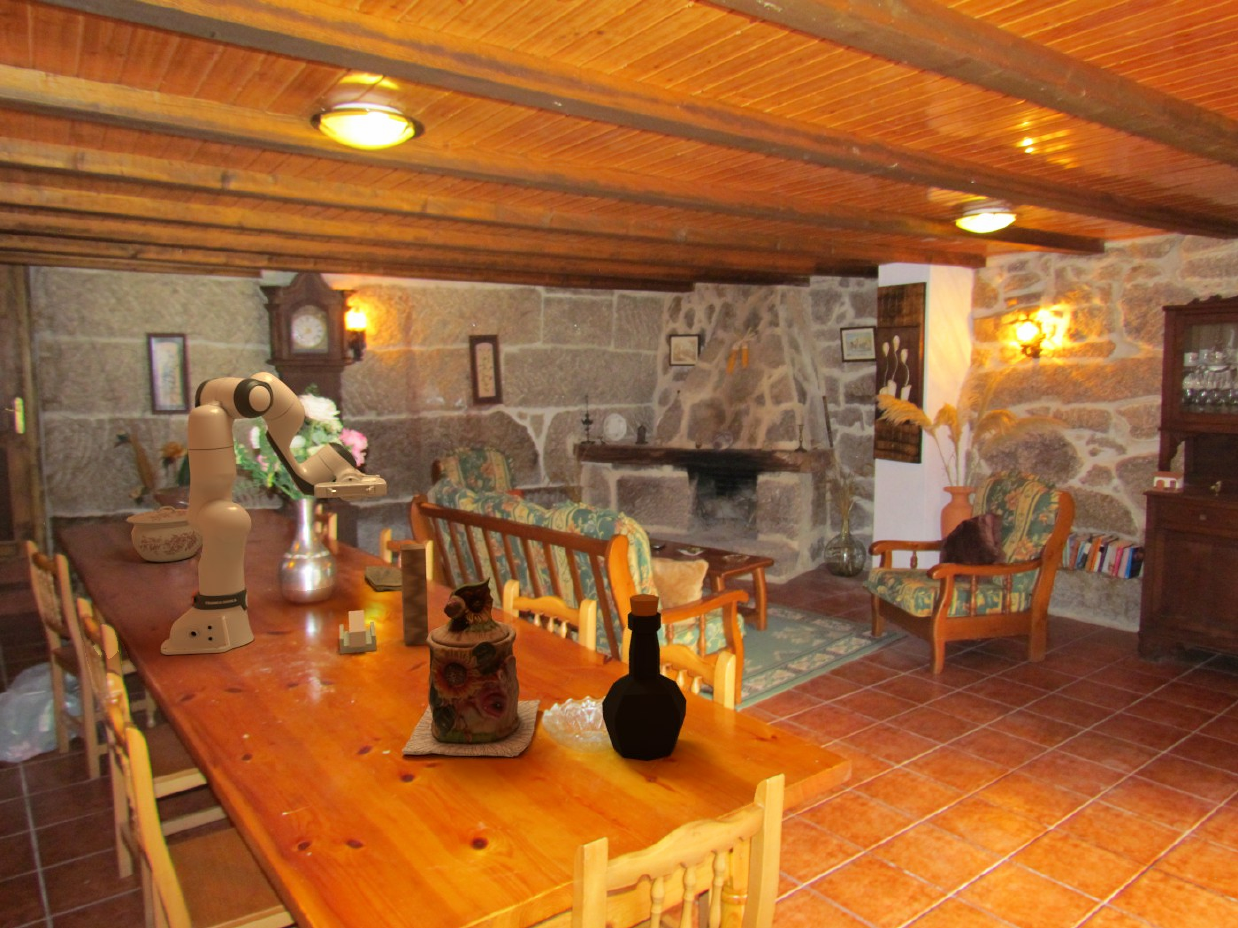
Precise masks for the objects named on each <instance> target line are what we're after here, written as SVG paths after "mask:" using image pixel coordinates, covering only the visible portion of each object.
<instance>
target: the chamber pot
mask: <svg viewBox="0 0 1238 928" xmlns="http://www.w3.org/2000/svg"><path fill="white" fill-rule="evenodd" d="M187 509H188V508H187ZM187 509H186V508H185V509H184V508H175V507H174V506H172V505H163V506H160V507H159V508H158V510H151V511H146V512H141V513H136V514H134V515H132V516H128V517H127V518H126V519H125V522H127V523H129V524H132V525H133V528H132V530H131V532H130V535H131V541H132V544H133V547H134V549H135V550H136V551H137V553H138V554H139V555H140V556H141V558H143V559H144V560H145V561H148V562H152V563H159V564H161V563H162V564H163V563H172V562H180V561H183V560H186V559H189V558H191V557H192V556H194V555H195V554H196V553H197V551H198V550H199V549H201V547H202V546H203V537H202V536H201V535H199V534H197V533H195V532H194V531H193V530H192V528H191V527H190V526H189V524H188V522H187V519H186V512H187Z"/></svg>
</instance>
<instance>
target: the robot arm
mask: <svg viewBox="0 0 1238 928" xmlns="http://www.w3.org/2000/svg"><path fill="white" fill-rule="evenodd" d="M195 391H196V392H195V397H194V408H193V409H192V410H191V411H190V412H189V414H188V421H187V428H186V429H187V433H186V434H187V436H186V440H187V453H188V462H189V463H188V464H189V472H190V473H189V474H190V475H189V476H190V485H189V486H190V487H189V496H188V507H187V512H186V519H187V522H188V524H189V526H190V527H191V528H192V530H193V531H194V532H195V533H197V534H199V535H201V536H202V538H203V544H202V546H201V547H202V549H201V554H200V555H201V556H200V559H199V561H198V563H197V572H198V585H199V587H198V588H199V590H195V591H193V593H192V594H191V599H190V601H191V607H190V608H189V609H188V610H186V612H185V613H183V614H182V615H181V616H180V617H179V618H177V619H176V620H175V621H174V623H173V624H172V625H171V628H170V632H169V638H167V639H166V640H164V641H163V642H162V644H161V645H160V653H161V654H162V655H165V656H166V655H169V656H171V655H189V654H190V655H191V654H192V655H193V654H215V653H225V652H227V651H230V650H232V649H235V648H239V647H241V646H245V645H246V644H250V643H251V642H253V640H254V639H255V636H254V634H253V631H252V627H251V624H250V620H249V616H248V610H247V609H248V607H249V603H248V601H249V600H248V597H249V596H248V592H247V588H246V586H245V570H244V569H245V567H244V565H245V564H244V561H245V560H244V559H245V558H244V557H245V550H246V544H247V537H248V535H249V534H250V531H251V529H252V518H251V515H250V514H249V513H248V511H247V510H246V509H245V508H244V507H243V506H242V505H240V504H238V503H236V502H233V490H234V484H235V479H236V478H237V463H236V454H235V453H236V452H235V443H234V435H233V434H234V433H233V424H234V422H235V420H243V419H256V418H259V417H261V418H262V420H264V422H265V423H266V426H267V430H266V431H265V432H266V433H265V437H266V440H267V442H268V444H269V445H270V447H271V448H272V450H273V452H274V453H275V455H276V457H277V458H278V460H279V461H280V462H281V464H282V466H283V467H284V469H285V470H286V471H287V473H288V475H289V476H290V479H291V481H292V483H293V485H294V487H295V488H296V489H297V491H299V493H300V494H303V495H304V496H314V498H316V499H330V498H340V499H341V500H342V501H345V502H348V503H352V502H356V501H358V500H363V499H366V498H375V497H380V496H386V495H387V493H388V491H387V490H388V487H387V481H386V479H384V478H381V475H379V474H370V473H363V472H361V471H360V470H359V469H358V464H357V460H356V458H355V457H354V456H353V455H352V453H351V451H349V450H348V449H347V448H346V447H345V446H344V445H342V444H341V443H337V442H328V443H326V444H325V445H324V446H322V447H320V449H319V450H317V451H316V452H315V453H313V454H312V455H311V456H309V457H308V458H307V459H306V460H305V461H303V462H301V463H299V462H298V460H297V459H296V457H295V456H294V454H293V453H292V451H291V448H290V447H291V444H292V442H293V439H294V438H295V436H296V435H297V433H298V432H299V431H300V429H301V428H302V426H303V424H304V422H305V417H306V409H305V405H303V402H302V401H301V400H300V398H299V397H298V396H297V395H296V394H295V392H293V390H292V389H290V387H289V386H287V385H286V384H285V383H284V382H283V381H282V380H280V379H279V378H278V377H276V376H275V375H274V374H272V373H270V372H266V371H261V372H257V373H255V374H253V375H251V376H250V377H249V378H244V377H242V378H241V377H235V376H228V377H227V376H226V377H216V378H215V377H213V378H210V379H207V380H203V382H201V383H200V384H199V385H198V387H197V389H196V390H195ZM334 480H335V482H333V481H334Z"/></svg>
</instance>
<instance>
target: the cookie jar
mask: <svg viewBox="0 0 1238 928" xmlns="http://www.w3.org/2000/svg"><path fill="white" fill-rule="evenodd" d="M490 579H492V577H491V576H487V577H486V578H485V579H484V580H483V581H480V582H479V581H478V582H470V583H469V582H468V583H465V584H462V585H459V586H457V587H456V588H455V589H453V590H452V591H451V592H450V595H449V598H448V601H447V603H446V605H445V607H444V608H443V612H444V614H445V615H446V616H447V617H448V618H450V619H449V620H448V621H447V623H446V624H443V625H440V626H438V627H437V628H434V629H432V630H430V632H428V637H427V640H426V644H425V645H426V646H427V647H428V649H429V675H428V693H427V694H428V695H427V701H428V705H427V707H426V709H425V711H424V714H423V715H422V716H421V718H420V720H419V721H418V722H417V724H416V725H415V727H414V729H413V732H412V733H411V735H410V739H408V740H407V742H406V744H405V745H404V747H403V748H402V749H401V754H402V755H403V756H404V755H429V754H438V755H447V756H459V757H460V756H463V757H465V756H467V757H470V756H472V757H508V758H513V757H517V756H519V755H520V753H522V752H523V751H524V750H526V748H527V747H529V745H530V744H531V741H532V738H533V734H534V732H535V730H536V728H535V725H536V720H537V715H538V714H537V713H538V710H539V708H540V706H541V700H540V699H530V700H520V701H519V697H520V691H521V690H520V683H519V680H518V677H517V675H518V671H517V667H516V666H517V660H516V659H517V658H516V656H515V655H514V651H513V650H514V649H513V648H514V646H513V644H514V642H515V641H516V639H517V632H516V630H515V628H514V627H513V626H512V625H510V624H509V623H506V622H505V623H504V622H501V621H496V620H494V619H493V618H492V608H493V605H494V597H493V596H492V595H491V592H492V589H491V588H490V587H489V584H490Z"/></svg>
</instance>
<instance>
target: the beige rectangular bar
mask: <svg viewBox="0 0 1238 928" xmlns="http://www.w3.org/2000/svg"><path fill="white" fill-rule="evenodd" d="M364 611H365V609H362V610H361V609H360V610H350V611H348V622H349V623H348V627H349V628H348V629H349V630H348V631H349V634H350V648H352V647H362V646H366V629H367V628H366V621H365V612H364Z"/></svg>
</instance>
